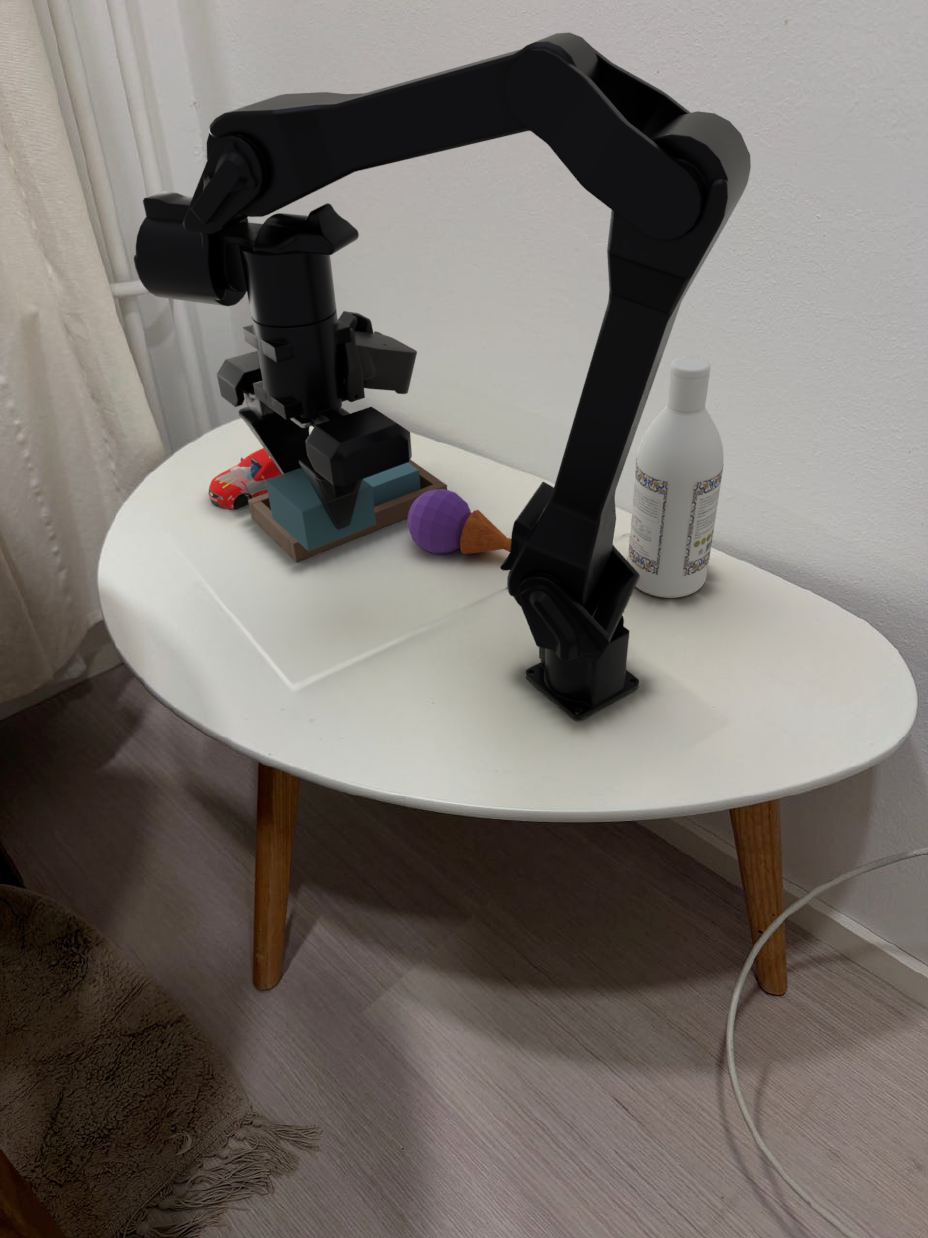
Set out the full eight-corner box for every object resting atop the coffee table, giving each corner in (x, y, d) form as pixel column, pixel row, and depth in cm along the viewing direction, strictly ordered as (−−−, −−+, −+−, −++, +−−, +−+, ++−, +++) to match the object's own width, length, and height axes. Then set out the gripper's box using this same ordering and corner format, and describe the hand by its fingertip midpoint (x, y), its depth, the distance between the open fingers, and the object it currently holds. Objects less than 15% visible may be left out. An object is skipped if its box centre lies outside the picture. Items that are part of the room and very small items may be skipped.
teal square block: (421, 500, 93) (419, 469, 91) (370, 520, 90) (366, 489, 88) (390, 477, 97) (387, 447, 95) (340, 495, 94) (336, 465, 92)
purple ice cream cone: (600, 578, 75) (392, 509, 82) (596, 625, 80) (399, 555, 87) (627, 532, 79) (425, 468, 86) (622, 579, 83) (430, 515, 90)
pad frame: (448, 507, 93) (447, 484, 91) (297, 567, 85) (293, 543, 84) (396, 469, 99) (394, 447, 98) (252, 522, 92) (247, 499, 90)
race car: (223, 520, 93) (214, 485, 90) (202, 498, 96) (194, 464, 94) (338, 478, 98) (333, 445, 96) (315, 459, 102) (309, 426, 99)
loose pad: (376, 524, 72) (372, 485, 70) (308, 552, 69) (302, 512, 67) (338, 494, 76) (333, 456, 73) (272, 518, 73) (265, 479, 71)
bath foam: (703, 557, 84) (734, 345, 72) (707, 603, 79) (742, 382, 66) (627, 553, 85) (644, 343, 73) (625, 598, 80) (644, 380, 67)
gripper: (472, 322, 60) (477, 525, 69) (329, 254, 72) (351, 436, 81) (321, 367, 55) (349, 580, 64) (195, 287, 67) (235, 476, 76)
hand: (323, 510), depth 72 cm, fingers closed on loose pad, 6 cm apart
